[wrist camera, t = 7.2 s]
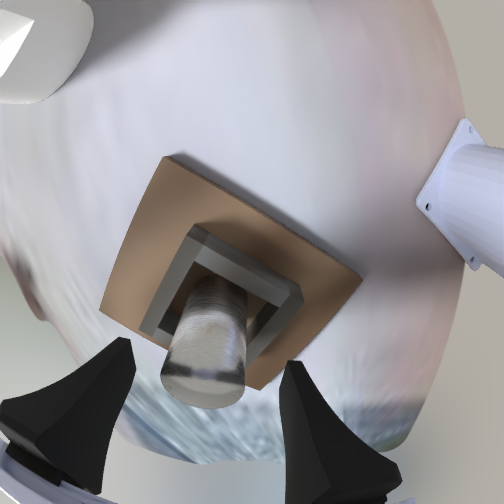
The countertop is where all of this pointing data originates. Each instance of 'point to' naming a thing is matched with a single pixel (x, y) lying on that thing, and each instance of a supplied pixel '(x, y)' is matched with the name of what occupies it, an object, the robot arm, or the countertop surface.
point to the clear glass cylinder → (209, 346)
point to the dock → (222, 269)
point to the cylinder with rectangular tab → (40, 46)
